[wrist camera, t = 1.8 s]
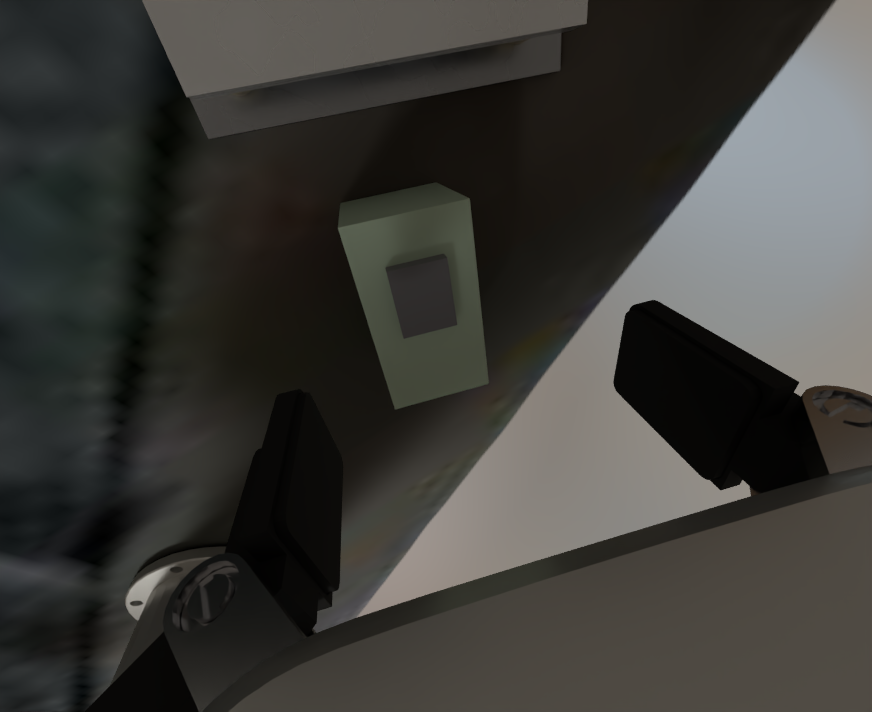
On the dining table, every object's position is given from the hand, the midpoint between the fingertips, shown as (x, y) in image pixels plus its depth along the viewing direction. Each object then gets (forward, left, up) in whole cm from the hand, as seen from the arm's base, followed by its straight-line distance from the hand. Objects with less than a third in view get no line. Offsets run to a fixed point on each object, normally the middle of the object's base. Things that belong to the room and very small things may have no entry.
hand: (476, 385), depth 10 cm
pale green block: (-1, 0, -12) cm, 12 cm away
